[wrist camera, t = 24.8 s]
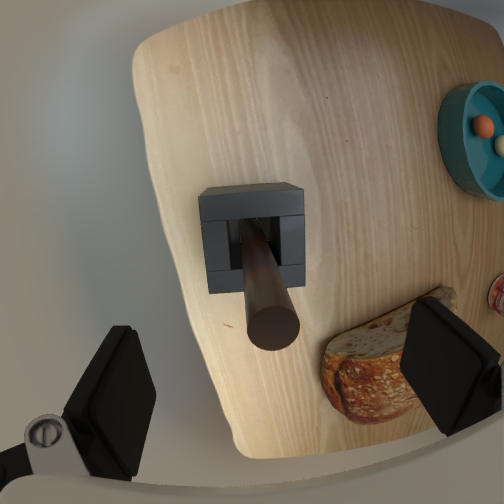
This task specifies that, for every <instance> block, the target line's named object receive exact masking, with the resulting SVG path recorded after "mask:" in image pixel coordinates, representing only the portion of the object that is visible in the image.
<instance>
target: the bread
mask: <svg viewBox="0 0 504 504" xmlns="http://www.w3.org/2000/svg"><path fill="white" fill-rule="evenodd" d="M427 296H433V297H435V298H436V299H437V300H438V301H440V302H441V303H442V304H443V305H444V306H446V307H447V308H448V309H449V310H450V311H452V312H453V313H454V314H455V315H456V316H457V297H456V293H455V290H454V289H453V288H451V287H441V288H438V289H436V290H434V291H432V292H431V293H429V294H427V295H425V296H423V297H427ZM415 301H416V300H414V301H412V302H410V303H408V304H406V305H404V306H403V307H400V308H398V309H396V310H394V311H392V312H390V313H388V314H386V315H384V316H382V317H379V318H377V319H375V320H373V321H371V322H369V323H367V324H365V325H363V326H361V327H358V328H355V329H352V330H349V331H347V332H345V333H342V334H340V335H338V336H337V337H335V338H334V339H332V340H331V342H330V343H329V344H328V346H327V349H326V351H325V353H324V359H323V362H322V368H321V384H322V388H323V390H324V392H325V394H326V395H327V397H328V399H329V401H330V403H331V404H332V406H333V407H334V408H335V409H337V410H338V411H339V412H341V413H342V414H343V415H345V416H346V417H347V418H348V419H349V420H350V421H352V422H353V423H355V424H359V425H371V424H378V423H382V422H387V421H390V420H392V419H395V418H397V417H400V416H402V415H404V414H406V413H408V412H411V411H413V410H415V409H417V408H418V407H420V406H422V405H423V404H422V403H421V401H420V400H419V398H418V397H417V395H416V394H415V392H414V391H413V389H412V388H411V386H410V385H409V383H408V382H407V380H406V379H405V377H404V376H403V375H402V373H401V371H400V367H399V363H400V359H401V355H402V351H403V347H404V342H405V338H406V333H407V329H408V324H409V319H410V314H411V308H412V305H413V304H414V303H415Z"/></svg>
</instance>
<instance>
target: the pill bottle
mask: <svg viewBox="0 0 504 504" xmlns="http://www.w3.org/2000/svg"><path fill="white" fill-rule="evenodd" d="M488 302H489V305H490V307H491V308H492V309H494V310H495V311H496V312H498V313H499V314H501V315H502V316H503V317H504V274H503V275H500V276H499V277H498V278H497V279H496V280H495V281H494V283H493V284H492V286H491V289H490V292H489V296H488Z"/></svg>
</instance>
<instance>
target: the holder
mask: <svg viewBox="0 0 504 504" xmlns="http://www.w3.org/2000/svg"><path fill="white" fill-rule="evenodd" d="M198 200H199V210H200V220H201V230H202V239H203V248H204V257H205V265H206V271H207V272H206V274H207V282H208V289H209V294H218V293H231V292H244V283H243V269H242V255H241V243H234V244H232V238H231V226H230V220H234V219H247V218H261V217H269V227H270V241H268V244H269V246H270V249H271V251H272V253H273V256H274V258H275V261H276V263H277V266H278V268H279V271H280V273H281V276H282V278H283V281H284V283H285V286H286V288H291V287H302V286H305V215H304V190H303V189H301V188H299V187H296V186H294V185H291V184H289V183H286V182H283V183H265V184H249V185H236V186H223V187H212V188H207V189H206V190H205V191H204V192H203V193H202V194H201V195H200V196H199V197H198Z"/></svg>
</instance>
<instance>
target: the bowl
mask: <svg viewBox="0 0 504 504" xmlns="http://www.w3.org/2000/svg"><path fill="white" fill-rule="evenodd" d="M481 114H482V115H486V116H488V117H489V118H490V119H491V120H492V122H493V124H494V133H493V135H492V136H491V137H490V138H487V139H483V138H480V137H479V136H478V135H477V134H476V133H475V132H474V130H473V120H474V118H475V117H476V116H477V115H481ZM500 135H504V88H503V87H502V86H501V85H499V84H497V83H495V82H492V81H481V82H476V83H471V84H467V85H462V86H458V87H457V88H454V89H453V90H451V91H450V92H449V93H448V94H447V96H446V97H445V99H444V101H443V103H442V105H441V109H440V113H439V118H438V137H439V144H440V150H441V153H442V157H443V160H444V163H445V165H446V167H447V170H448V172H449V173H450V175H451V177H452V178H453V180H454V181H455V182H456V183H457V185H458V186H459V187H460V188H462V189H463V190H464V191H466V192H467V193H469V194H472V195H474V196H477V197H481V198H486V199H489V200H493V201H501V202H504V158H503V157H501V156H500V155H499V154H498V153H497V152H496V149H495V140H496V138H497V137H498V136H500Z"/></svg>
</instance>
